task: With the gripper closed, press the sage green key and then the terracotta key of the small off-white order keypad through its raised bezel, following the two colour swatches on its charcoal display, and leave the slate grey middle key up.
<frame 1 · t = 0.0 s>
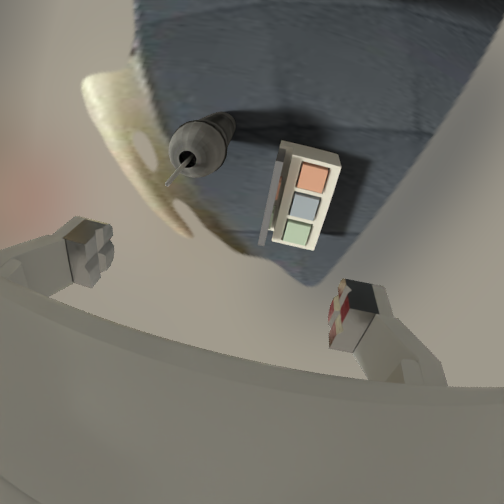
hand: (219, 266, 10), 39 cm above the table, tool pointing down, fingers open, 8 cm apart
key sage: (296, 230, 49), point 5 cm above the table, slide at 0.0 cm
keypad console: (299, 188, 50), on the table
key terracotta: (312, 176, 43), point 5 cm above the table, slide at 0.0 cm
beverage cup: (221, 125, 45), on the table
key slate: (304, 204, 46), point 5 cm above the table, slide at 0.0 cm
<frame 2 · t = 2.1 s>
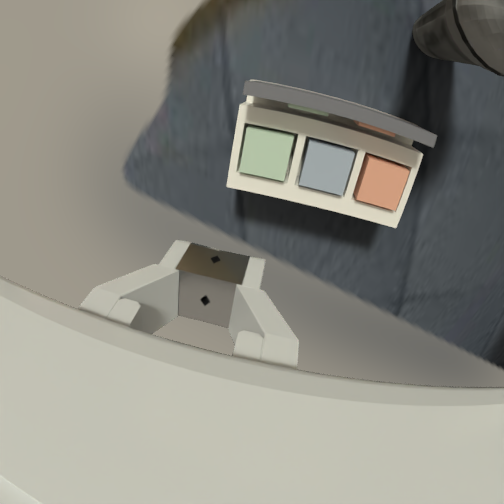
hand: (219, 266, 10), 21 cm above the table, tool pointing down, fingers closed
key sage: (267, 151, 24), point 5 cm above the table, slide at 0.0 cm
keypad console: (324, 142, 27), on the table
key terracotta: (380, 181, 24), point 5 cm above the table, slide at 0.0 cm
beverage cup: (432, 37, 20), on the table
key slate: (325, 165, 24), point 5 cm above the table, slide at 0.0 cm
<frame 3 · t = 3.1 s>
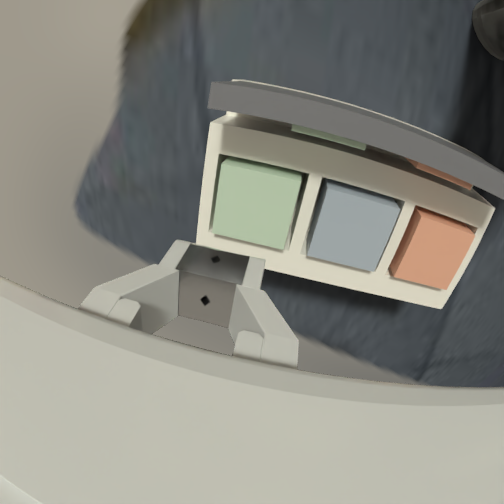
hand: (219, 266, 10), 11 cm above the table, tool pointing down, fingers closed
key sage: (257, 200, 15), point 5 cm above the table, slide at 0.0 cm
keypad console: (345, 175, 19), on the table
key terracotta: (430, 246, 15), point 5 cm above the table, slide at 0.0 cm
beverage cup: (496, 30, 11), on the table
key slate: (350, 223, 15), point 5 cm above the table, slide at 0.0 cm
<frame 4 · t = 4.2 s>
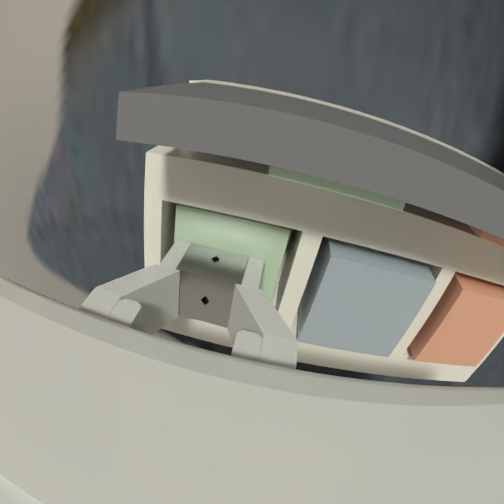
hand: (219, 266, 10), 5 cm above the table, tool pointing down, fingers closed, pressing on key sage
key sage: (230, 249, 11), point 4 cm above the table, slide at 1.0 cm, touching gripper
keypad console: (353, 210, 14), on the table
key terracotta: (463, 316, 10), point 5 cm above the table, slide at 0.0 cm
key slate: (361, 295, 10), point 5 cm above the table, slide at 0.0 cm
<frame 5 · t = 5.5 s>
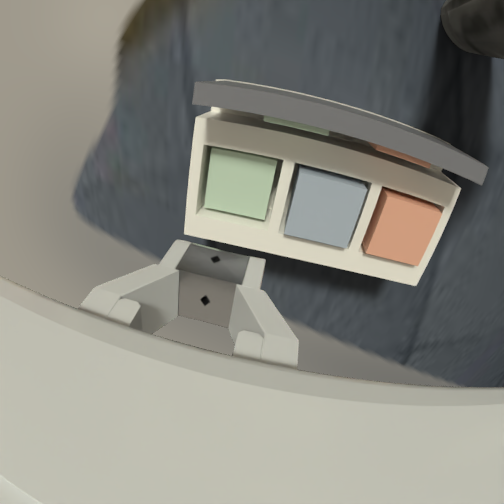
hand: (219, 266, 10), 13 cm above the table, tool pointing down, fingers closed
key sage: (241, 179, 18), point 4 cm above the table, slide at 1.2 cm
keypad console: (321, 164, 20), on the table
key terracotta: (400, 225, 17), point 5 cm above the table, slide at 0.0 cm
beverage cup: (465, 25, 13), on the table
key slate: (323, 204, 17), point 5 cm above the table, slide at 0.0 cm
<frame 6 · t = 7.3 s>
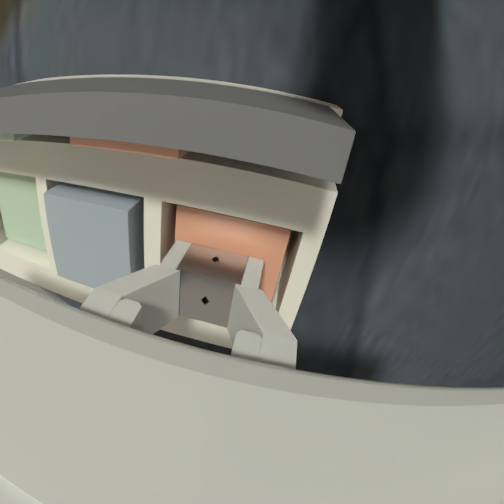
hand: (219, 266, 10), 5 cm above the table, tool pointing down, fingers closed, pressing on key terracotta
key sage: (34, 201, 12), point 4 cm above the table, slide at 1.2 cm
keypad console: (155, 167, 14), on the table
key terracotta: (231, 249, 11), point 4 cm above the table, slide at 1.0 cm, touching gripper
key slate: (100, 234, 10), point 5 cm above the table, slide at 0.0 cm
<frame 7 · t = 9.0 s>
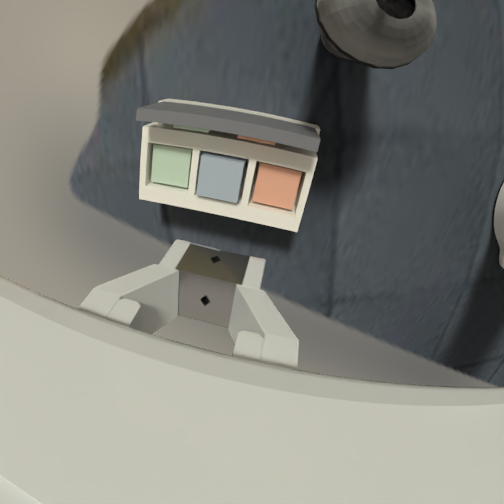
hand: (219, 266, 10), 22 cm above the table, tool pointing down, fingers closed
key sage: (174, 163, 27), point 4 cm above the table, slide at 1.2 cm
keypad console: (233, 151, 30), on the table
key terracotta: (277, 183, 27), point 4 cm above the table, slide at 1.2 cm
beverage cup: (344, 37, 23), on the table
key slate: (221, 176, 26), point 5 cm above the table, slide at 0.0 cm
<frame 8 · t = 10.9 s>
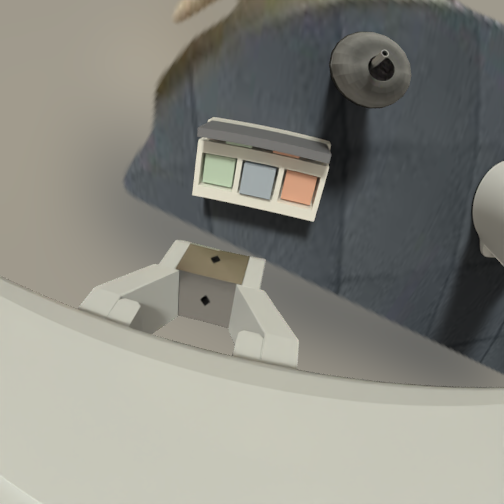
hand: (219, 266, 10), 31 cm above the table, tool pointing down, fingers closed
key sage: (220, 168, 37), point 4 cm above the table, slide at 1.2 cm
keypad console: (264, 160, 39), on the table
key terracotta: (298, 185, 36), point 4 cm above the table, slide at 1.2 cm
beverage cup: (349, 72, 32), on the table
key slate: (258, 179, 36), point 5 cm above the table, slide at 0.0 cm
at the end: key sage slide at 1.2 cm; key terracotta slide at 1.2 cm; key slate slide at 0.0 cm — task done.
